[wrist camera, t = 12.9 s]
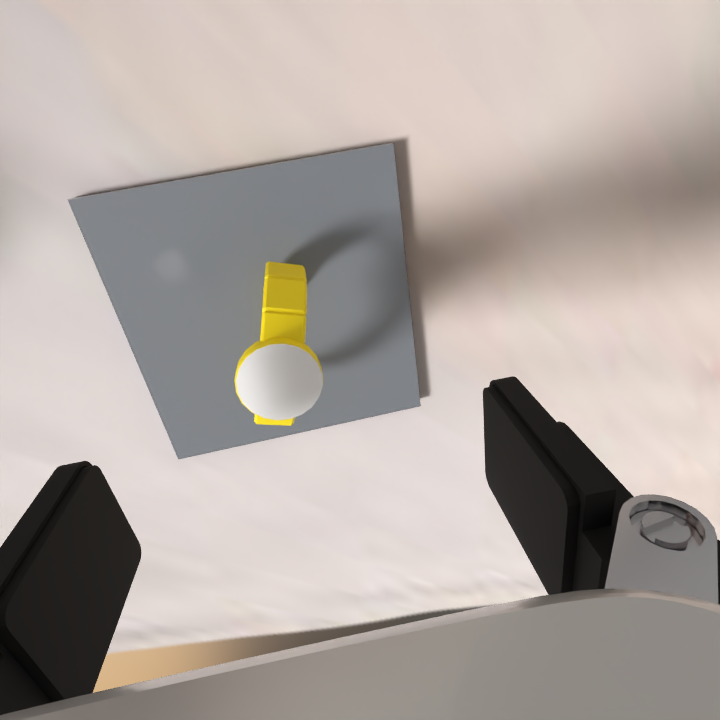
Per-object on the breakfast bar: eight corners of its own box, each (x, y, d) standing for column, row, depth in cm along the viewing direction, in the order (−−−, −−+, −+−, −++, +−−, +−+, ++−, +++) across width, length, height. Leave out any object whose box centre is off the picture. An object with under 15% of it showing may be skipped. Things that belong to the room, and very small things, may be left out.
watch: (249, 247, 18) (240, 280, 13) (317, 256, 19) (335, 290, 14) (240, 382, 21) (230, 458, 15) (303, 386, 21) (313, 461, 16)
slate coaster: (389, 143, 18) (393, 143, 17) (417, 399, 23) (420, 405, 23) (73, 197, 17) (67, 199, 16) (180, 451, 23) (178, 459, 22)
